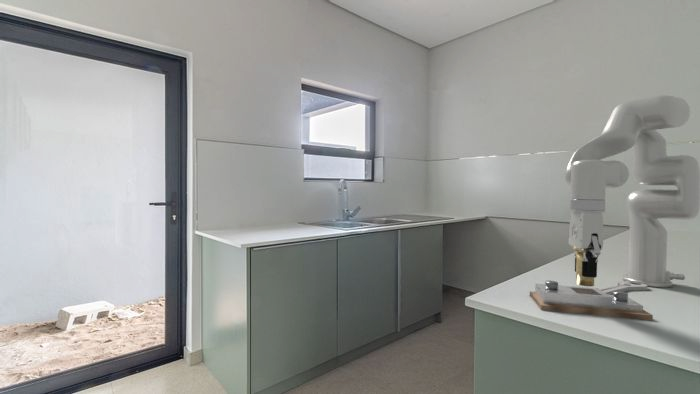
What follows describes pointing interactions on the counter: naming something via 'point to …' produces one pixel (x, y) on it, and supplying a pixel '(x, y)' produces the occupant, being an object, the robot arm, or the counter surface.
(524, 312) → the counter surface
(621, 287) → the adjustable wrench
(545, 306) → the board
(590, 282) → the bolt
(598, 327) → the counter surface
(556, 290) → the metal plate with bolts
